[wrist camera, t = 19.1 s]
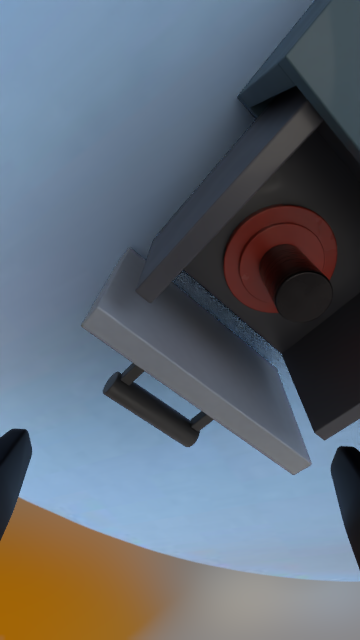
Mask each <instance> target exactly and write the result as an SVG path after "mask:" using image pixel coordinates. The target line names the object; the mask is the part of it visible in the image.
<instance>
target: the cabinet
mask: <svg viewBox="0 0 360 640" xmlns="http://www.w3.org/2000/svg"><path fill="white" fill-rule="evenodd" d="M294 86H297V87H298V89H299V90H300V91H301V92H302V93H303V95H304V96H305V97H306V98H307V100H308V101H309V102H310V103H311V105H312V106H313V107H314V108H315V110H316V111H317V112H318V113H319V115H320V116H321V117H322V118H323V120H324V121H325V122H326V123H327V125H328V126H329V127H330V128H331V130H332V131H333V132H334V133H335V135H336V136H337V137H338V138H339V139H340V141H341V142H342V143H343V144H344V146H345V147H346V148H347V149H348V151H349V152H350V153H351V154H352V156H353V157H354V158H355V159H356V161H357V162H358V163H359V164H360V0H315V1H314V2H313V3H312V5H311V6H310V7H309V8H308V9H307V11H306V12H305V13H304V14H303V16H302V17H301V18H300V19H299V21H298V22H297V23H296V24H295V26H294V27H293V28H292V29H291V31H290V32H289V33H288V34H287V35H286V37H285V38H284V39H283V40H282V42H281V43H280V44H279V45H278V47H277V48H276V49H275V50H274V52H273V53H272V54H271V55H270V56H269V58H268V59H267V60H266V61H265V63H264V64H263V65H262V66H261V68H260V69H259V70H258V71H257V73H256V74H255V75H254V76H253V77H252V79H251V80H250V81H249V82H248V84H247V85H246V86H245V87H244V89H243V90H242V91H241V92H240V94H239V95H238V96H237V97H238V99H239V100H240V101H241V102H242V103H243V104H244V105H245V107H246V108H247V109H248V110H249V111H250V112H251V113H252V115H253V116H254V117H255V118H256V119H257V118H258V117H259V115H260V114H261V113H262V112H263V111H264V110H265V108H266V107H267V106H268V105H269V104H270V103H271V101H272V100H273V99H274V98H275V97H276V96H277V95H278V94H280V93H282V92H284V91H286V90H288V89H290V88H292V87H294Z"/></svg>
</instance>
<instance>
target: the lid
mask: <svg viewBox="0 0 360 640" xmlns="http://www.w3.org/2000/svg"><path fill="white" fill-rule="evenodd" d="M336 262H337V243H336V238H335V236H334V233H333V231H332V229H331V227H330V226H329V224H328V223H327V222H326V221H325V220H324V219H323V218H322V217H321V216H320V215H318V214H317V213H315V212H314V211H312V210H310V209H308V208H306V207H303V206H300V205H296V204H275V205H271V206H267V207H264V208H262V209H259V210H257V211H256V212H254V213H252V214H251V215H249V216H248V217H246V218H245V219H244V220H243V221H242V222H241V223H240V224H239V225H238V226H237V227H236V228H235V230H234V231H233V233H232V234H231V236H230V238H229V240H228V242H227V244H226V247H225V250H224V255H223V271H224V276H225V280H226V283H227V285H228V287H229V289H230V291H231V292H232V294H233V295H234V296H235V297H236V298H237V299H238V300H239V301H240V302H241V303H243V304H244V305H246V306H247V307H249V308H251V309H254V310H257V311H261V312H266V313H279V314H280V315H281V316H282V317H283V318H285V319H286V320H289V321H291V322H296V323H303V322H309V321H312V320H314V319H316V318H318V317H319V316H321V315H322V314H323V313H324V312H325V311H326V310H327V309H328V307H329V306H330V304H331V302H332V298H333V287H332V284H331V282H330V281H329V280H330V278H331V276H332V275H333V272H334V269H335V266H336Z"/></svg>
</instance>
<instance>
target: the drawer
mask: <svg viewBox="0 0 360 640" xmlns="http://www.w3.org/2000/svg"><path fill="white" fill-rule="evenodd" d="M275 204H296V205H300V206H303V207H306V208H308V209H310V210H312V211H314V212H315V213H317V214H318V215H320V216H321V217H322V218H323V219H324V220H325V221H326V222H327V223H328V224H329V226H330V227H331V229H332V231H333V233H334V236H335V238H336V243H337V262H336V266H335V269H334V272H333V275H332V276H331V278H330V280H329V281H330V282H331V284H332V287H333V298H332V302H331V304H330V306H329V307H328V309H327V310H326V311H325V312H324V313H323V314H322V315H321V316H319V317H318V318H316V319H314V320H312V321H309V322H303V323H296V322H291V321H289V320H286V319H285V318H283V317H282V316H281V315H280V314H279V313H266V312H261V311H257V310H254V309H251V308H249V307H247V306H246V305H244V304H243V303H241V302H240V301H239V300H238V299H237V298H236V297H235V296H234V295H233V294H232V292H231V291H230V289H229V287H228V285H227V283H226V280H225V276H224V271H223V255H224V250H225V247H226V244H227V242H228V240H229V238H230V236H231V234H232V233H233V231H234V230H235V228H236V227H237V226H238V225H239V224H240V223H241V222H242V221H243V220H244V219H245V218H246V217H248V216H249V215H251V214H252V213H254V212H256V211H257V210H259V209H262V208H264V207H267V206H271V205H275ZM182 270H184V271H185V272H186V273H188V274H189V275H190V276H191V277H192V278H193V279H195V280H196V281H197V282H198V283H199V284H200V285H202V286H203V287H204V288H205V289H206V290H207V291H209V292H210V293H211V294H212V295H213V296H214V297H216V298H217V299H218V300H219V301H220V302H221V303H223V304H224V305H225V306H226V307H227V308H229V309H230V310H231V311H232V312H233V313H234V314H236V315H237V316H238V317H239V318H240V319H241V320H243V321H244V322H245V323H246V324H247V325H248V326H250V327H251V328H252V329H253V330H254V331H255V332H257V333H258V334H259V335H260V336H261V337H262V338H264V339H265V340H266V341H267V342H268V343H270V344H271V345H272V346H273V347H274V348H275V349H277V350H278V351H279V352H280V353H281V354H282V356H283V359H284V361H285V363H286V366H287V368H288V371H289V373H290V375H291V378H292V380H293V383H294V385H295V387H296V390H297V392H298V394H299V397H300V399H301V402H302V404H303V406H304V409H305V411H306V414H307V416H308V418H309V421H310V423H311V426H312V428H313V430H314V433H316V434H317V435H318V436H319V437H321V438H322V439H323V440H326V439H328V438H329V437H331V436H333V435H334V434H336V433H337V432H339V431H341V430H342V429H344V428H345V427H347V426H349V425H350V424H352V423H353V422H355V421H357V420H358V419H360V164H359V163H358V162H357V161H356V159H355V158H354V157H353V156H352V154H351V153H350V152H349V151H348V149H347V148H346V147H345V146H344V144H343V143H342V142H341V141H340V139H339V138H338V137H337V136H336V135H335V133H334V132H333V131H332V130H331V128H330V127H329V126H328V125H327V123H326V122H325V121H324V120H323V118H322V117H321V116H320V115H319V113H318V112H317V111H316V110H315V108H314V107H313V106H312V105H311V103H310V102H309V101H308V100H307V98H306V97H305V96H304V95H303V93H302V92H301V91H300V90H299V89H298V87H297V86H294V87H292V88H290V89H288V90H286V91H284V92H282V93H280V94H278V95H277V96H276V97H275V98H274V99H273V100H272V101H271V103H270V104H269V105H268V106H267V107H266V108H265V110H264V111H263V112H262V113H261V114H260V115H259V117H258V118H257V119H256V120H255V121H254V122H253V124H252V125H251V126H250V127H249V128H248V129H247V131H246V132H245V133H244V134H243V135H242V136H241V138H240V139H239V140H238V141H237V142H236V143H235V145H234V146H233V147H232V148H231V149H230V150H229V152H228V153H227V154H226V155H225V156H224V157H223V159H222V160H221V161H220V162H219V163H218V164H217V166H216V167H215V168H214V169H213V170H212V171H211V173H210V174H209V175H208V176H207V177H206V178H205V180H204V181H203V182H202V183H201V184H200V185H199V187H198V188H197V189H196V190H195V191H194V192H193V194H192V195H191V196H190V197H189V198H188V199H187V201H186V202H185V203H184V204H183V205H182V206H181V208H180V209H179V210H178V211H177V212H176V213H175V215H174V216H173V217H172V218H171V219H170V220H169V222H168V223H167V224H166V225H165V226H164V227H163V229H162V230H161V231H160V232H159V233H158V234H157V236H156V237H155V238H154V240H153V243H152V245H151V248H150V251H149V254H148V256H147V259H146V260H145V259H144V258H142V257H141V256H140V255H139V254H138V253H136V252H135V251H134V250H133V249H132V248H129V249H128V250H127V251H126V252H125V253H124V255H123V256H122V257H121V258H120V259H119V261H118V262H117V264H116V266H115V267H114V269H113V271H112V273H111V274H110V276H109V278H108V279H107V281H106V283H105V285H104V286H103V288H102V290H101V292H100V293H99V295H98V297H97V298H96V300H95V302H94V304H93V305H92V307H91V309H90V310H89V312H88V314H87V316H86V317H85V319H84V321H83V323H82V325H81V326H82V327H83V328H84V329H85V330H87V331H88V332H90V333H91V334H93V335H94V336H95V337H97V338H98V339H100V340H101V341H103V342H104V343H105V344H107V345H108V346H110V347H111V348H113V349H114V350H115V351H117V352H118V353H120V354H121V355H123V356H124V357H125V358H127V359H128V360H130V361H131V362H133V363H132V364H131V365H130V366H129V367H128V368H127V369H126V370H125V371H124V372H123V373H122V374H121V373H120V372H115V373H114V374H113V375H112V376H111V377H110V378H109V380H108V381H107V383H106V385H105V386H104V389H103V394H104V395H106V396H107V397H109V398H111V399H112V400H114V401H115V402H117V403H118V404H120V405H121V406H123V407H125V408H126V409H128V410H129V411H131V412H132V413H134V414H135V415H137V416H139V417H140V418H142V419H143V420H145V421H146V422H148V423H149V424H151V425H153V426H154V427H156V428H157V429H159V430H160V431H162V432H163V433H165V434H167V435H168V436H170V437H171V438H173V439H174V440H176V441H177V442H179V443H181V444H182V445H184V446H185V447H190V446H192V445H193V444H194V443H195V442H196V440H197V439H198V436H199V433H200V430H201V429H202V428H203V427H205V426H206V425H207V424H209V423H210V422H211V421H213V420H215V421H217V422H218V423H220V424H221V425H222V426H224V427H225V428H227V429H228V430H230V431H231V432H232V433H234V434H235V435H237V436H238V437H240V438H241V439H242V440H244V441H245V442H247V443H248V444H250V445H251V446H252V447H254V448H255V449H257V450H258V451H260V452H261V453H262V454H264V455H265V456H267V457H268V458H270V459H271V460H272V461H274V462H275V463H277V464H278V465H280V466H281V467H282V468H284V469H285V470H287V471H288V472H290V473H291V474H292V475H295V474H297V473H298V472H300V471H302V470H303V469H305V468H307V467H308V466H310V465H311V464H312V463H311V460H310V457H309V455H308V452H307V449H306V446H305V444H304V441H303V438H302V436H301V433H300V430H299V428H298V425H297V422H296V420H295V417H294V414H293V411H292V409H291V406H290V403H289V401H288V398H287V395H286V393H285V390H284V387H283V384H282V382H281V379H280V376H279V374H278V371H277V369H276V368H275V367H274V366H273V365H272V364H270V363H269V362H268V361H267V360H266V359H264V358H263V357H262V356H261V355H260V354H258V353H257V352H256V351H255V350H253V349H252V348H251V347H250V346H249V345H247V344H246V343H245V342H244V341H243V340H241V339H240V338H239V337H238V336H237V335H235V334H234V333H233V332H232V331H231V330H229V329H228V328H227V327H226V326H225V325H223V324H222V323H221V322H220V321H218V320H217V319H216V318H215V317H214V316H212V315H211V314H210V313H209V312H208V311H206V310H205V309H204V308H203V307H202V306H200V305H199V304H198V303H197V302H196V301H194V300H193V299H192V298H191V297H189V296H188V295H187V294H186V293H185V292H183V291H182V290H181V289H180V288H179V287H177V286H176V285H175V284H174V283H173V282H172V281H173V280H174V279H175V278H176V277H177V276H178V275H179V274H180V273H181V271H182ZM144 371H145V372H147V373H148V374H150V375H151V376H153V377H154V378H155V379H157V380H158V381H160V382H161V383H163V384H164V385H165V386H167V387H168V388H170V389H171V390H173V391H174V392H175V393H177V394H178V395H180V396H181V397H183V398H184V399H185V400H187V401H188V402H190V403H191V404H193V405H194V406H195V407H197V408H198V409H200V410H201V412H200V413H199V414H197V415H196V416H195V417H194V418H192V419H191V421H190V420H189V419H187V418H186V417H185V416H183V415H182V414H180V413H179V412H177V411H176V410H174V409H173V408H171V407H170V406H168V405H167V404H165V403H164V402H162V401H161V400H159V399H158V398H157V397H155V396H154V395H152V394H151V393H149V392H148V391H146V390H145V389H143V388H142V387H140V386H139V385H137V384H136V383H134V382H133V381H134V380H135V379H136V378H138V377H139V376H140V375H141V374H142V373H143V372H144Z"/></svg>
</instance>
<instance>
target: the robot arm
mask: <svg viewBox="0 0 360 640" xmlns="http://www.w3.org/2000/svg"><path fill="white" fill-rule="evenodd" d="M31 455H32V447H31V442H30V438H29V433H28V431H27V430H26V429H11V430H10V431H8V432H7V433H6V434H4V435H3V436H2V437H0V540H1V538H2V536H3V534H4V531H5V529H6V527H7V525H8V522H9V520H10V518H11V515H12V513H13V510H14V507H15V504H16V502H17V499H18V496H19V493H20V490H21V487H22V484H23V480H24V477H25V474H26V471H27V468H28V465H29V462H30V459H31ZM331 475H332V479H333V483H334V487H335V491H336V495H337V499H338V503H339V507H340V511H341V515H342V519H343V522H344V526H345V529H346V532H347V535H348V538H349V541H350V544H351V547H352V550H353V552H354V555H355V558H356V561H357V564H358V566H359V569H360V452H359V451H358V450H357V449H356V448H354V447H347V446H340V447H339V448H338V449H337V451H336V454H335V456H334V459H333V461H332V464H331Z"/></svg>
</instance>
